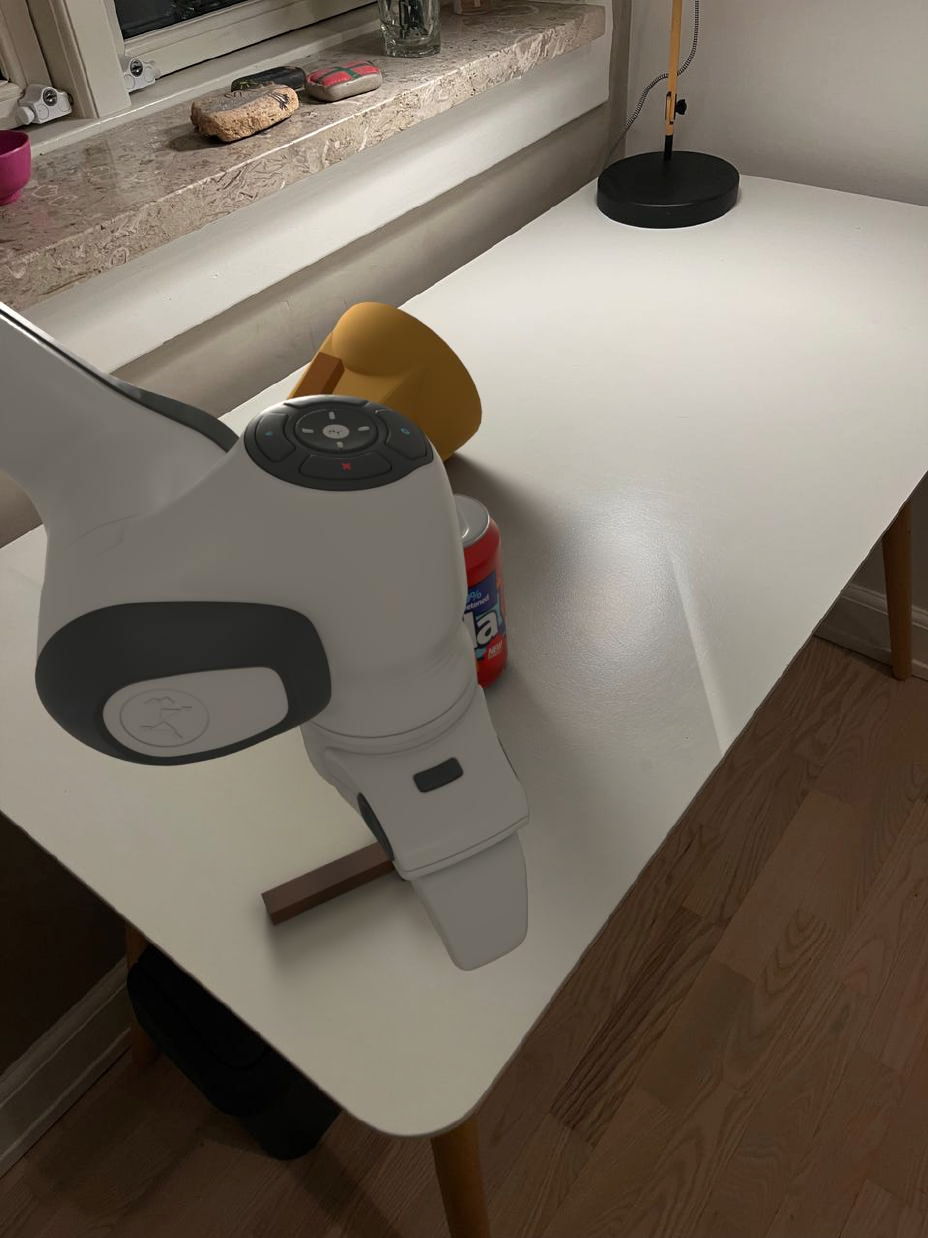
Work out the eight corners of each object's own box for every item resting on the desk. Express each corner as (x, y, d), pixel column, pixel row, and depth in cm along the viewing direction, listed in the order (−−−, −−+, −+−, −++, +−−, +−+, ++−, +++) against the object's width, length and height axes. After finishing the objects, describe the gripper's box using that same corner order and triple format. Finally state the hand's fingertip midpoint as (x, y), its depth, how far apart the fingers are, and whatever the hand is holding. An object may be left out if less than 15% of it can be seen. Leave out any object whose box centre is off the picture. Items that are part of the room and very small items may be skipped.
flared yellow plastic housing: (369, 413, 111) (317, 278, 97) (497, 460, 103) (460, 320, 89) (251, 545, 104) (175, 418, 90) (379, 606, 96) (318, 478, 82)
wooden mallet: (279, 939, 66) (273, 923, 65) (259, 892, 69) (253, 875, 68) (461, 854, 70) (459, 837, 69) (436, 812, 73) (433, 795, 71)
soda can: (505, 629, 86) (497, 482, 76) (510, 699, 80) (502, 550, 70) (412, 635, 86) (390, 490, 76) (410, 705, 80) (387, 558, 70)
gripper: (261, 605, 56) (307, 764, 66) (416, 894, 42) (447, 1041, 52) (367, 565, 58) (397, 725, 67) (549, 830, 44) (555, 984, 54)
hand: (420, 865), depth 60 cm, fingers closed
